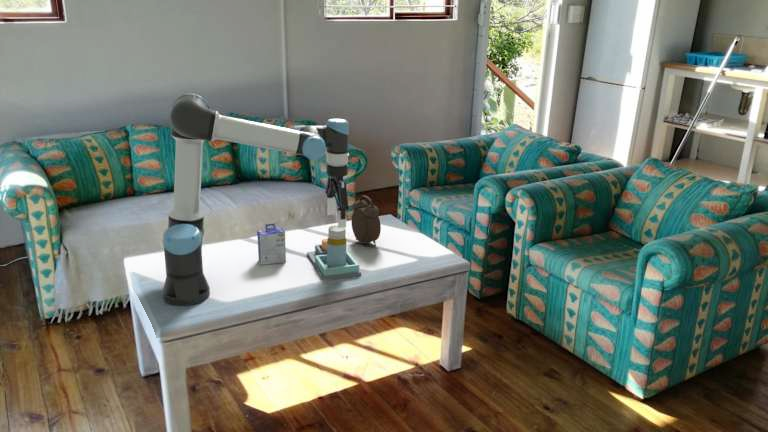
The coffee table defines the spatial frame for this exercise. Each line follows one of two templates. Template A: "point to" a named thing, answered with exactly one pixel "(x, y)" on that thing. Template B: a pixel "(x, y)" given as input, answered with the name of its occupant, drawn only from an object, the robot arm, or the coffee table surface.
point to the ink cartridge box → (271, 245)
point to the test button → (324, 244)
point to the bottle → (336, 247)
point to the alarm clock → (365, 221)
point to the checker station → (328, 273)
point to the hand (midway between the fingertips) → (336, 220)
